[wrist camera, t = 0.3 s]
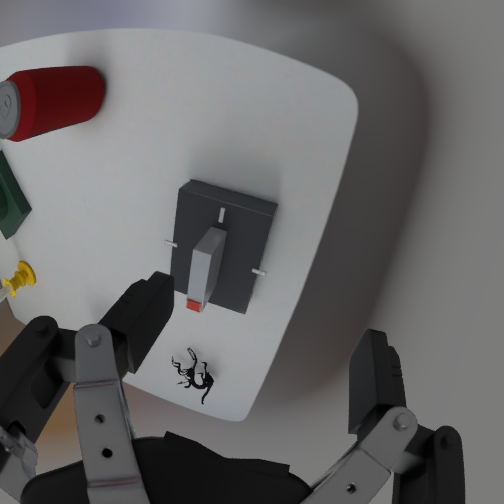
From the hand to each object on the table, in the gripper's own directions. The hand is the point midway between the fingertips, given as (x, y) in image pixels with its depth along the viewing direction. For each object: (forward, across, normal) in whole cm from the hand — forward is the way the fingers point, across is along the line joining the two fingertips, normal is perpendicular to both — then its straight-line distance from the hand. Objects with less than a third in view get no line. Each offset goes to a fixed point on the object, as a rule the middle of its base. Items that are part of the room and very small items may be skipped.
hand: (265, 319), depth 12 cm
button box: (+18, +46, +9) cm, 50 cm away
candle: (+18, +44, +25) cm, 54 cm away
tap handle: (+15, +6, +8) cm, 18 cm away
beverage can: (+18, +25, -6) cm, 32 cm away
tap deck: (+18, +6, +8) cm, 21 cm away
